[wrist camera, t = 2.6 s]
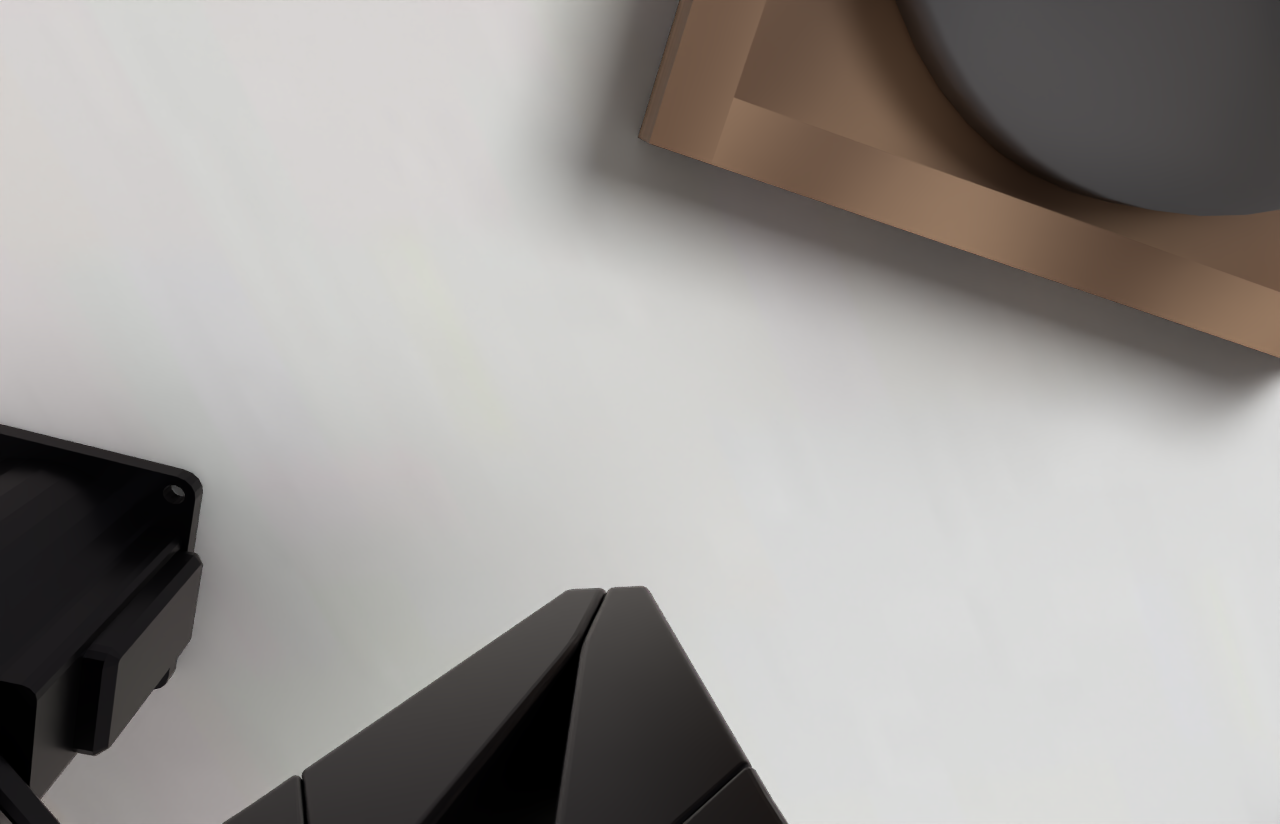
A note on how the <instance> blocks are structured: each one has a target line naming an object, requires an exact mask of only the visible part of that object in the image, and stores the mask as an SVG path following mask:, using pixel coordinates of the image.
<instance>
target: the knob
mask: <svg viewBox="0 0 1280 824" xmlns="http://www.w3.org/2000/svg"><path fill="white" fill-rule="evenodd" d="M896 3H897V6H898V8H899V11H900V13H901V15H902V18H903V20H904V22H905V25H906V27H907V30H908V32H909V34H910V37H911V39H912V41H913V44H914V46H915V48H916V50H917V52H918V54H919V55H920V57H921V59H922V60H923V62H924V64H925V65H926V67H927V69H928V70H929V72H930V74H931V75H932V77H933V79H934V80H935V82H936V84H937V86H938V87H939V89H940V90H941V91H942V93H943V94H944V95H945V96H946V97H947V99H948V100H949V101H950V102H951V104H952V105H953V106H954V107H955V109H956V110H957V111H958V112H959V114H960V115H961V116H962V117H963V118H964V120H965V121H966V122H967V123H968V124H969V125H970V126H971V127H972V128H973V129H974V130H975V131H976V132H978V133H979V134H980V135H981V136H982V137H983V138H984V139H985V140H986V141H987V142H989V143H990V144H991V145H992V146H993V147H994V148H995V149H996V150H997V151H998V152H1000V153H1001V154H1003V155H1004V156H1006V157H1007V158H1009V159H1010V160H1012V161H1013V162H1015V163H1016V164H1018V165H1019V166H1021V167H1022V168H1024V169H1025V170H1027V171H1029V172H1030V173H1032V174H1033V175H1035V176H1037V177H1040V178H1042V179H1044V180H1046V181H1048V182H1051V183H1053V184H1055V185H1057V186H1059V187H1062V188H1064V189H1066V190H1068V191H1070V192H1074V193H1077V194H1081V195H1085V196H1088V197H1092V198H1095V199H1099V200H1103V201H1106V202H1110V203H1116V204H1121V205H1127V206H1133V207H1138V208H1144V209H1150V210H1155V211H1163V212H1171V213H1180V214H1188V215H1196V216H1222V215H1249V214H1255V213H1262V212H1268V211H1274V210H1280V0H896Z"/></svg>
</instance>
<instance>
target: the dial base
mask: <svg viewBox="0 0 1280 824" xmlns="http://www.w3.org/2000/svg"><path fill="white" fill-rule="evenodd" d="M638 138H640V139H642V140H644V141H646V142H647V143H649V144H652V145H655V146H658V147H661V148H664V149H667V150H670V151H673V152H676V153H679V154H682V155H685V156H688V157H691V158H694V159H697V160H699V161H702V162H705V163H708V164H711V165H714V166H717V167H720V168H723V169H726V170H729V171H732V172H735V173H738V174H741V175H744V176H747V177H749V178H752V179H755V180H758V181H761V182H764V183H767V184H770V185H773V186H776V187H779V188H782V189H785V190H788V191H791V192H794V193H796V194H799V195H802V196H805V197H808V198H811V199H814V200H817V201H820V202H823V203H826V204H829V205H832V206H835V207H838V208H841V209H844V210H846V211H849V212H852V213H855V214H858V215H861V216H864V217H867V218H870V219H873V220H876V221H879V222H882V223H885V224H888V225H891V226H894V227H896V228H899V229H902V230H905V231H908V232H911V233H914V234H917V235H920V236H923V237H926V238H929V239H932V240H935V241H938V242H941V243H943V244H946V245H949V246H952V247H955V248H958V249H961V250H964V251H967V252H970V253H973V254H976V255H979V256H982V257H985V258H988V259H991V260H993V261H996V262H999V263H1002V264H1005V265H1008V266H1011V267H1014V268H1017V269H1020V270H1023V271H1026V272H1029V273H1032V274H1035V275H1038V276H1041V277H1043V278H1046V279H1049V280H1052V281H1055V282H1058V283H1061V284H1064V285H1067V286H1070V287H1073V288H1076V289H1079V290H1082V291H1085V292H1088V293H1091V294H1093V295H1096V296H1099V297H1102V298H1105V299H1108V300H1111V301H1114V302H1117V303H1120V304H1123V305H1126V306H1129V307H1132V308H1135V309H1138V310H1140V311H1143V312H1146V313H1149V314H1152V315H1155V316H1158V317H1161V318H1164V319H1167V320H1170V321H1173V322H1176V323H1179V324H1182V325H1185V326H1188V327H1190V328H1193V329H1196V330H1199V331H1202V332H1205V333H1208V334H1211V335H1214V336H1217V337H1220V338H1223V339H1226V340H1229V341H1232V342H1235V343H1238V344H1240V345H1243V346H1246V347H1249V348H1252V349H1255V350H1258V351H1261V352H1264V353H1267V354H1270V355H1273V356H1276V357H1279V358H1280V210H1274V211H1268V212H1262V213H1255V214H1249V215H1222V216H1196V215H1188V214H1180V213H1171V212H1163V211H1155V210H1150V209H1144V208H1138V207H1133V206H1127V205H1121V204H1116V203H1110V202H1106V201H1103V200H1099V199H1095V198H1092V197H1088V196H1085V195H1081V194H1077V193H1074V192H1070V191H1068V190H1066V189H1064V188H1062V187H1059V186H1057V185H1055V184H1053V183H1051V182H1048V181H1046V180H1044V179H1042V178H1040V177H1037V176H1035V175H1033V174H1032V173H1030V172H1029V171H1027V170H1025V169H1024V168H1022V167H1021V166H1019V165H1018V164H1016V163H1015V162H1013V161H1012V160H1010V159H1009V158H1007V157H1006V156H1004V155H1003V154H1001V153H1000V152H998V151H997V150H996V149H995V148H994V147H993V146H992V145H991V144H990V143H989V142H987V141H986V140H985V139H984V138H983V137H982V136H981V135H980V134H979V133H978V132H976V131H975V130H974V129H973V128H972V127H971V126H970V125H969V124H968V123H967V122H966V121H965V120H964V118H963V117H962V116H961V115H960V114H959V112H958V111H957V110H956V109H955V107H954V106H953V105H952V104H951V102H950V101H949V100H948V99H947V97H946V96H945V95H944V94H943V93H942V91H941V90H940V89H939V87H938V86H937V84H936V82H935V80H934V79H933V77H932V75H931V74H930V72H929V70H928V69H927V67H926V65H925V64H924V62H923V60H922V59H921V57H920V55H919V54H918V52H917V50H916V48H915V46H914V44H913V41H912V39H911V37H910V34H909V32H908V30H907V27H906V25H905V22H904V20H903V18H902V15H901V13H900V11H899V8H898V6H897V3H896V0H680V1H679V4H678V7H677V11H676V14H675V17H674V21H673V24H672V27H671V30H670V34H669V37H668V40H667V44H666V47H665V50H664V53H663V57H662V60H661V63H660V66H659V70H658V73H657V76H656V80H655V83H654V86H653V89H652V93H651V96H650V99H649V103H648V106H647V109H646V112H645V116H644V119H643V122H642V126H641V129H640V132H639V135H638Z"/></svg>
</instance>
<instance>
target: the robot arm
mask: <svg viewBox="0 0 1280 824" xmlns="http://www.w3.org/2000/svg"><path fill="white" fill-rule="evenodd" d="M171 485H176V486H178V487H180V488H181V489H182V490H183V491H184V493H185V496H179V495H177V494H175V493H174V492H173V491H172V489H171ZM202 494H203V489H202V484H201V482H200V480H199V478H197V477H196V476H195V475H194V474H193V473H191V472H189V471H186V470H184V469H180V468H176V467H172V466H168V465H164V464H159V463H155V462H151V461H147V460H143V459H139V458H135V457H131V456H127V455H123V454H119V453H115V452H111V451H107V450H103V449H99V448H95V447H91V446H86V445H82V444H78V443H74V442H70V441H66V440H62V439H58V438H54V437H50V436H46V435H42V434H38V433H34V432H30V431H26V430H22V429H17V428H13V427H9V426H5V425H1V424H0V824H60V823H59V821H58V820H57V819H56V818H55V817H54V815H53V814H52V813H51V812H50V811H49V810H48V808H47V807H46V806H45V805H44V804H43V803H42V801H41V800H40V799H41V798H42V797H43V796H44V794H45V793H46V792H47V791H48V789H49V788H50V787H51V786H52V784H53V783H54V782H55V781H56V779H57V778H58V777H59V776H60V774H61V773H62V772H63V771H64V769H65V768H66V767H67V765H68V764H69V763H70V762H71V760H72V759H73V758H74V757H75V755H76V754H77V753H81V754H87V755H92V756H96V755H98V754H100V753H101V752H103V751H105V750H107V749H108V748H110V747H111V745H112V744H113V743H114V741H115V740H116V739H117V737H118V736H119V735H120V733H121V732H122V731H123V729H124V728H125V727H126V725H127V724H128V723H129V721H130V720H131V719H132V717H133V716H134V715H135V713H136V712H137V711H138V709H139V708H140V707H141V705H142V704H143V703H144V701H145V700H146V699H147V697H148V696H149V695H150V693H151V692H152V691H153V690H154V689H158V688H161V687H162V686H164V685H165V684H166V683H167V682H168V680H169V679H170V678H171V676H172V675H173V673H174V671H175V669H176V662H177V658H178V656H179V655H180V654H181V652H182V651H183V650H184V648H185V647H186V646H187V644H188V643H189V641H190V639H191V636H192V629H193V623H194V617H195V611H196V604H197V598H198V592H199V586H200V579H201V573H202V567H203V563H202V561H201V560H200V558H199V556H198V554H196V553H194V546H195V540H196V533H197V527H198V520H199V514H200V507H201V501H202ZM222 824H788V822H787V821H786V819H785V818H784V816H783V815H782V813H781V812H780V810H779V809H778V807H777V805H776V804H775V802H774V801H773V799H772V797H771V796H770V794H769V792H768V791H767V789H766V787H765V786H764V784H763V782H762V781H761V779H760V777H759V775H758V774H757V772H756V771H755V770H754V769H753V768H752V766H751V764H750V762H749V760H748V759H747V757H746V755H745V754H744V752H743V750H742V748H741V747H740V745H739V743H738V742H737V740H736V738H735V737H734V735H733V733H732V731H731V730H730V728H729V726H728V725H727V723H726V721H725V719H724V718H723V716H722V714H721V713H720V711H719V709H718V707H717V706H716V704H715V702H714V701H713V699H712V697H711V695H710V694H709V692H708V690H707V689H706V687H705V685H704V683H703V682H702V680H701V678H700V677H699V675H698V673H697V671H696V670H695V668H694V666H693V665H692V663H691V661H690V659H689V658H688V656H687V654H686V653H685V651H684V649H683V647H682V646H681V644H680V642H679V641H678V639H677V637H676V635H675V634H674V632H673V630H672V629H671V627H670V625H669V623H668V622H667V620H666V618H665V617H664V615H663V613H662V611H661V610H660V608H659V606H658V605H657V603H656V601H655V600H654V598H653V596H652V594H651V593H650V591H649V590H648V589H647V588H646V587H644V586H632V587H614V588H611V589H609V590H608V591H607V593H606V591H605V590H603V589H601V588H589V589H570V590H567V591H565V592H564V593H562V594H561V595H559V596H558V597H556V598H555V599H553V600H552V601H550V602H549V603H548V604H546V605H545V606H543V607H542V608H540V609H539V610H537V611H536V612H534V613H533V614H532V615H530V616H529V617H527V618H526V619H524V620H523V621H521V622H520V623H518V624H517V625H515V626H514V627H513V628H511V629H510V630H508V631H507V632H505V633H504V634H502V635H501V636H499V637H498V638H497V639H495V640H494V641H492V642H491V643H489V644H488V645H486V646H485V647H483V648H482V649H480V650H479V651H478V652H476V653H475V654H473V655H472V656H470V657H469V658H467V659H466V660H464V661H463V662H461V663H460V664H459V665H457V666H456V667H454V668H453V669H451V670H450V671H448V672H447V673H445V674H444V675H442V676H441V677H440V678H438V679H437V680H435V681H434V682H432V683H431V684H429V685H428V686H426V687H425V688H423V689H422V690H421V691H419V692H418V693H416V694H415V695H413V696H412V697H410V698H409V699H407V700H406V701H404V702H403V703H402V704H400V705H399V706H397V707H396V708H394V709H393V710H391V711H390V712H388V713H387V714H385V715H384V716H383V717H381V718H380V719H378V720H377V721H375V722H374V723H372V724H371V725H369V726H368V727H366V728H365V729H364V730H362V731H361V732H359V733H358V734H356V735H355V736H353V737H352V738H350V739H349V740H347V741H346V742H345V743H343V744H342V745H340V746H339V747H337V748H336V749H334V750H333V751H331V752H330V753H328V754H327V755H326V756H324V757H323V758H321V759H320V760H318V761H317V762H315V763H314V764H312V765H311V766H309V767H308V768H307V769H305V770H304V771H303V773H302V779H301V777H299V776H296V775H295V776H292V777H291V778H289V779H288V780H286V781H285V782H283V783H282V784H281V785H279V786H278V787H276V788H275V789H273V790H272V791H270V792H269V793H267V794H266V795H265V796H263V797H262V798H260V799H259V800H257V801H256V802H254V803H253V804H251V805H250V806H248V807H247V808H245V809H244V810H242V811H241V812H239V813H238V814H236V815H235V816H233V817H232V818H230V819H229V820H227V821H225V822H224V823H222Z"/></svg>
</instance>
